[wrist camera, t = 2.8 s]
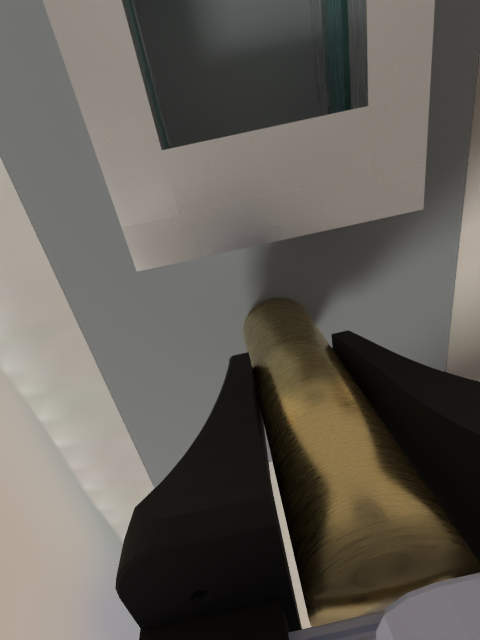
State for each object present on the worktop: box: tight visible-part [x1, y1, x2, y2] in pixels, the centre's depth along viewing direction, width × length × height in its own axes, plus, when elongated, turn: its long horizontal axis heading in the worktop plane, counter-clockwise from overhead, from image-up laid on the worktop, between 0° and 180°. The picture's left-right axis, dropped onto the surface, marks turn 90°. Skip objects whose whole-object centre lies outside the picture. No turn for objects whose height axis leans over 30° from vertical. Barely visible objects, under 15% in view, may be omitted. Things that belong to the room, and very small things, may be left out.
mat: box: [0, 0, 480, 487], centre depth 13 cm, size 26×16×1 cm, turn 11°
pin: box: [243, 298, 480, 627], centre depth 10 cm, size 3×3×10 cm
